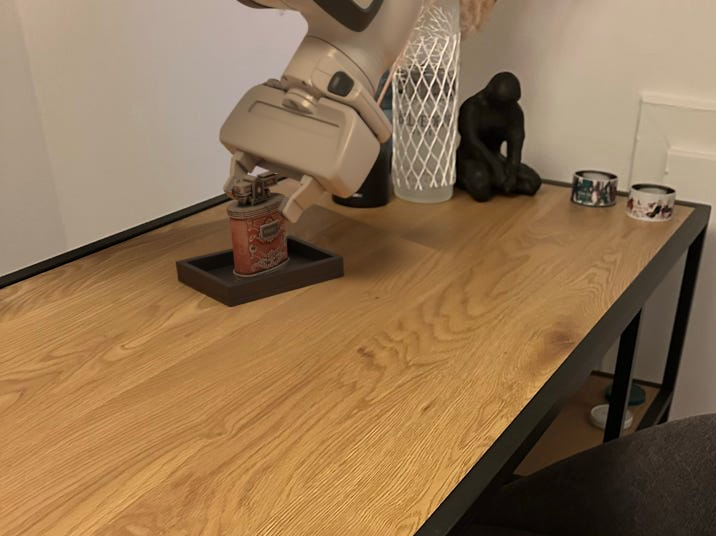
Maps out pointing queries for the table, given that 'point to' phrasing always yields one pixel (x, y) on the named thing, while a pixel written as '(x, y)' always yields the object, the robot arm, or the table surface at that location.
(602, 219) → the table surface
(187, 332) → the table surface
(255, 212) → the lighter
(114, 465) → the table surface
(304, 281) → the dark serving tray
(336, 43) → the robot arm
